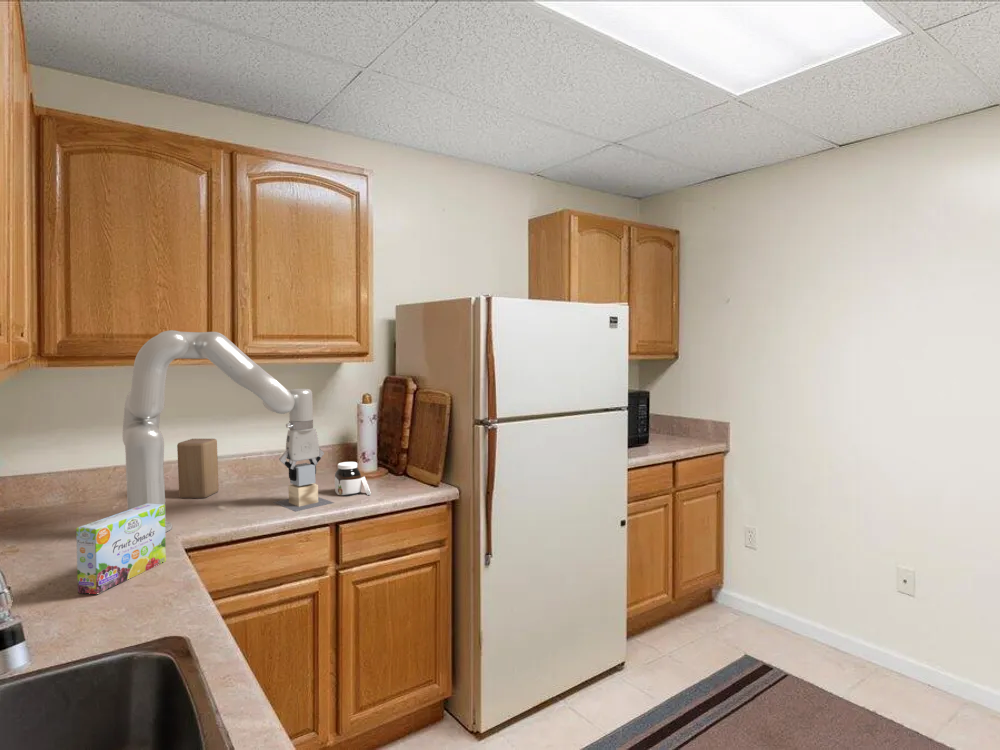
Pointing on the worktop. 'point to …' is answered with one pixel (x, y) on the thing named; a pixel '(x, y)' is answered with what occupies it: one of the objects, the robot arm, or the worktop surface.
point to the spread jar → (349, 480)
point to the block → (197, 468)
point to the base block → (303, 494)
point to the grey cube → (304, 474)
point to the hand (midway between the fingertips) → (302, 478)
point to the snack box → (120, 547)
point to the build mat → (297, 508)
